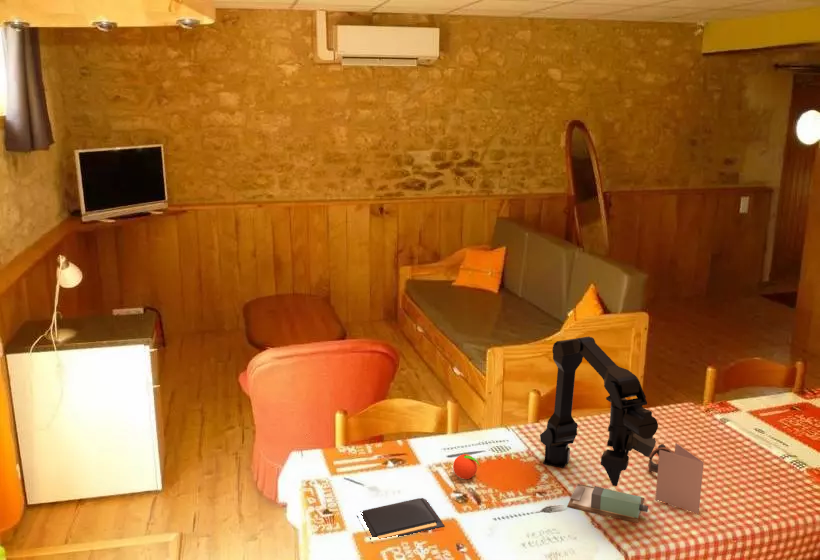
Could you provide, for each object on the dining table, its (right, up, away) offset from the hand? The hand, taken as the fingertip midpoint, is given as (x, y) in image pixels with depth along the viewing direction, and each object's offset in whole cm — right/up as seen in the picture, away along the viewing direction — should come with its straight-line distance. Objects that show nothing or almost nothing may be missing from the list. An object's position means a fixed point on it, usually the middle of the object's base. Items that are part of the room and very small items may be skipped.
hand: (618, 477), depth 186 cm
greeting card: (+17, -9, +6) cm, 20 cm away
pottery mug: (+21, -5, +23) cm, 31 cm away
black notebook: (-57, -12, +1) cm, 58 cm away
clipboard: (-1, -9, +7) cm, 11 cm away
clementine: (-38, -6, +21) cm, 43 cm away
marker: (0, -9, +3) cm, 9 cm away
